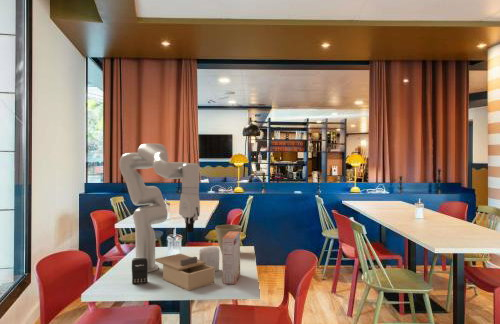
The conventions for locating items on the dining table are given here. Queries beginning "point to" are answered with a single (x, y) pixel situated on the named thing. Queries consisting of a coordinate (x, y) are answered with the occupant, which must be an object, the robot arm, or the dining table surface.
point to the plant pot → (225, 232)
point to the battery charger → (139, 270)
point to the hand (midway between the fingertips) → (189, 231)
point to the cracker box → (231, 257)
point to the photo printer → (210, 256)
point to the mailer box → (189, 276)
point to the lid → (179, 261)
